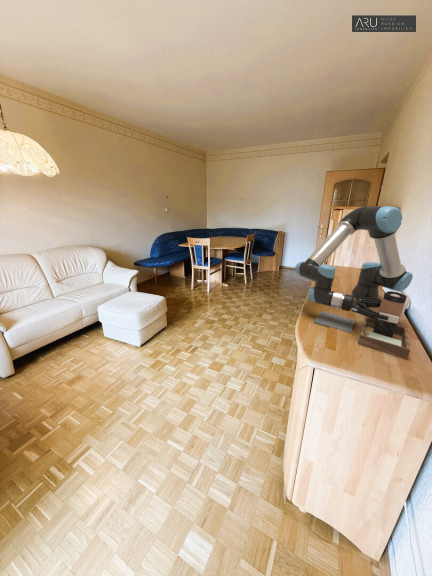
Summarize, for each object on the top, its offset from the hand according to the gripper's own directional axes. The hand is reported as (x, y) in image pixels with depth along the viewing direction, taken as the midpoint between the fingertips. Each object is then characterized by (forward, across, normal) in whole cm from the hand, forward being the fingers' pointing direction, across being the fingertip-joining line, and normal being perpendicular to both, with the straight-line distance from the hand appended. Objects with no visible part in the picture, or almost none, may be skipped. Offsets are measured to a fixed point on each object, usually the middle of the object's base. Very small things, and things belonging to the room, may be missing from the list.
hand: (398, 314), depth 96 cm
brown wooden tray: (-3, +5, -12) cm, 13 cm away
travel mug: (-3, 0, -12) cm, 12 cm away
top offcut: (-3, +10, -10) cm, 14 cm away
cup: (-1, -20, -12) cm, 24 cm away
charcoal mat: (-22, 0, -12) cm, 25 cm away
